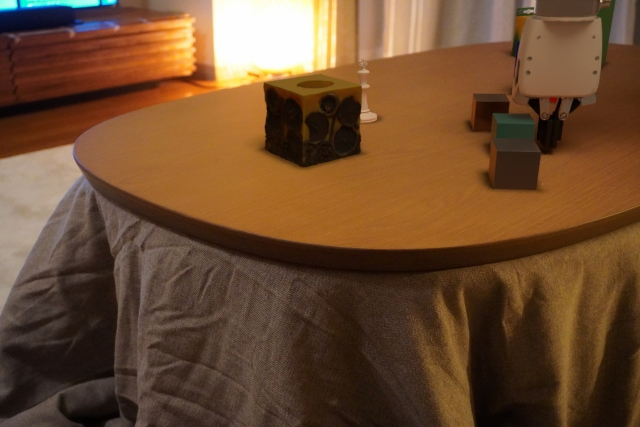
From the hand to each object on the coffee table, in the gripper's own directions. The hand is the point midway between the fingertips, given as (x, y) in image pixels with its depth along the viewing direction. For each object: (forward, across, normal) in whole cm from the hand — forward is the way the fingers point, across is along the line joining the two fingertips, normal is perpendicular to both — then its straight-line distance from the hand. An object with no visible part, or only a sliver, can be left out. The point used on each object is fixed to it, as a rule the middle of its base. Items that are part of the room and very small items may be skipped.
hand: (547, 145), depth 86 cm
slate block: (+1, +7, +12) cm, 14 cm away
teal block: (+1, +5, 0) cm, 5 cm away
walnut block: (+1, +6, -12) cm, 14 cm away
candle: (+1, +33, +2) cm, 33 cm away
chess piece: (+1, +26, -16) cm, 31 cm away
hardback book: (+2, -20, -61) cm, 64 cm away
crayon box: (+2, -11, -77) cm, 78 cm away
